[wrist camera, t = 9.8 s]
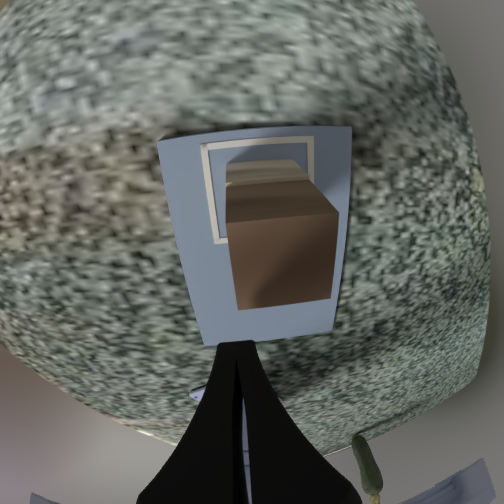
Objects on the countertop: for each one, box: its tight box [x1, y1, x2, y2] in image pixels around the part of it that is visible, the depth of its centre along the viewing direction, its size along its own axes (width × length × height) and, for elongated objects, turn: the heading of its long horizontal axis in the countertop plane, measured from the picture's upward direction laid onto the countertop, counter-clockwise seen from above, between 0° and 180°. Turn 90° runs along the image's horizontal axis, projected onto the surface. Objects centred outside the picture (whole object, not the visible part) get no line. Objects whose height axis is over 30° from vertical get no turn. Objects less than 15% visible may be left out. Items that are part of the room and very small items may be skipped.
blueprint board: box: [157, 125, 352, 346], centre depth 20 cm, size 18×12×1 cm, turn 4°
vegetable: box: [351, 434, 383, 504], centre depth 38 cm, size 4×4×20 cm
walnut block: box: [225, 180, 339, 310], centre depth 12 cm, size 4×4×4 cm
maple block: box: [226, 158, 310, 187], centre depth 15 cm, size 4×4×4 cm
